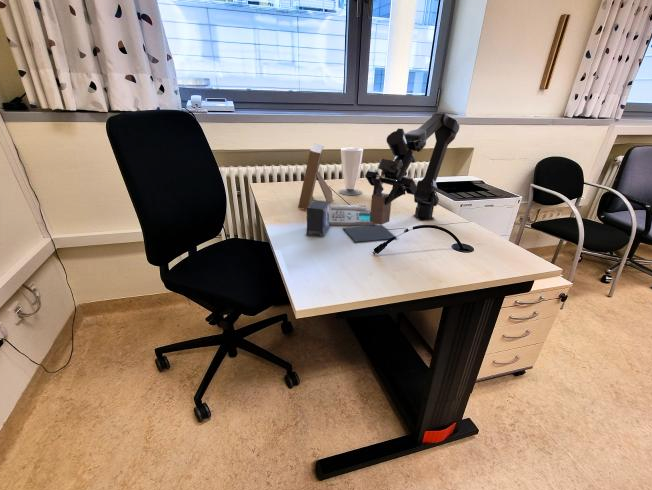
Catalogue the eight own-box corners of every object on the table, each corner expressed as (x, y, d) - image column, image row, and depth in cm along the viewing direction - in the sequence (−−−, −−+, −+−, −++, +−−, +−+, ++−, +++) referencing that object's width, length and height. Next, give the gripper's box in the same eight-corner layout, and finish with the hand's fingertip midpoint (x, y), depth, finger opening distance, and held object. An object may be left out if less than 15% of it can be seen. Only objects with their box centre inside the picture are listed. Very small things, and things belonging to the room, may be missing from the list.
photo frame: (298, 209, 151) (296, 150, 138) (303, 196, 169) (302, 143, 157) (331, 210, 150) (332, 151, 138) (333, 197, 169) (334, 144, 157)
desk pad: (381, 225, 135) (381, 224, 135) (396, 238, 123) (396, 237, 123) (343, 229, 131) (343, 228, 131) (354, 242, 119) (354, 241, 119)
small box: (323, 237, 123) (323, 209, 118) (306, 235, 124) (305, 207, 119) (329, 227, 132) (330, 200, 127) (313, 226, 133) (313, 199, 128)
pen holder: (377, 218, 123) (380, 191, 119) (389, 221, 120) (392, 194, 116) (369, 221, 120) (371, 194, 115) (381, 224, 117) (383, 197, 112)
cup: (338, 189, 183) (339, 147, 172) (359, 189, 184) (361, 147, 174) (340, 195, 173) (342, 150, 163) (362, 195, 174) (365, 150, 164)
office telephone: (329, 202, 153) (373, 203, 153) (329, 208, 154) (372, 209, 154) (327, 218, 133) (377, 220, 133) (326, 225, 134) (377, 226, 134)
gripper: (370, 145, 116) (348, 183, 115) (417, 152, 106) (394, 194, 104) (381, 166, 125) (361, 202, 124) (426, 174, 115) (404, 213, 113)
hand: (378, 202), depth 116 cm, fingers closed on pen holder, 5 cm apart
